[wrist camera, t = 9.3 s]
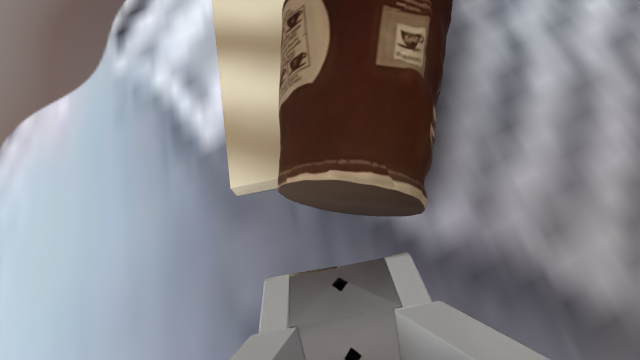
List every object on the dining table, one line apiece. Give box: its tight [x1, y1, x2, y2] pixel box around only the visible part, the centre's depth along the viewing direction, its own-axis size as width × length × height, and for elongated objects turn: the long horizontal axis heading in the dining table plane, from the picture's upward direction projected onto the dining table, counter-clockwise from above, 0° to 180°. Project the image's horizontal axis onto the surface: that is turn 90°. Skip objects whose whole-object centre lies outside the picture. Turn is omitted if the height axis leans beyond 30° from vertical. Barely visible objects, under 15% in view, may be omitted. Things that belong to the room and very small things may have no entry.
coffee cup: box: [278, 0, 453, 216], centre depth 19 cm, size 9×8×13 cm
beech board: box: [212, 0, 285, 196], centre depth 25 cm, size 18×10×1 cm, turn 10°
